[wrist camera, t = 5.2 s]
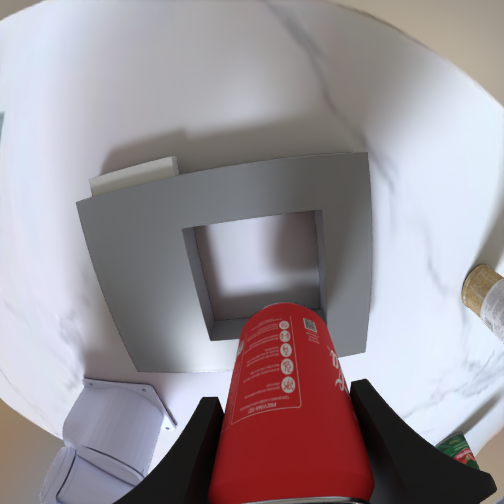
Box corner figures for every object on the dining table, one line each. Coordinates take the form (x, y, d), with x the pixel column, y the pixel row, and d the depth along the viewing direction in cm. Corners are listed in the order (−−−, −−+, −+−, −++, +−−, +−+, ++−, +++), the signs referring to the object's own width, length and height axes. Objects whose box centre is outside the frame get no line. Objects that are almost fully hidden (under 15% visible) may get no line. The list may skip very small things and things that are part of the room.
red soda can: (264, 281, 16) (247, 485, 4) (341, 316, 16) (414, 493, 4) (228, 348, 17) (183, 525, 5) (299, 376, 17) (313, 543, 5)
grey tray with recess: (146, 353, 22) (137, 371, 20) (91, 179, 17) (72, 184, 14) (356, 333, 21) (365, 352, 18) (350, 134, 16) (365, 131, 13)
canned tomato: (466, 426, 29) (487, 467, 19) (456, 443, 32) (473, 480, 21) (431, 445, 30) (449, 490, 20) (424, 460, 33) (438, 500, 22)
